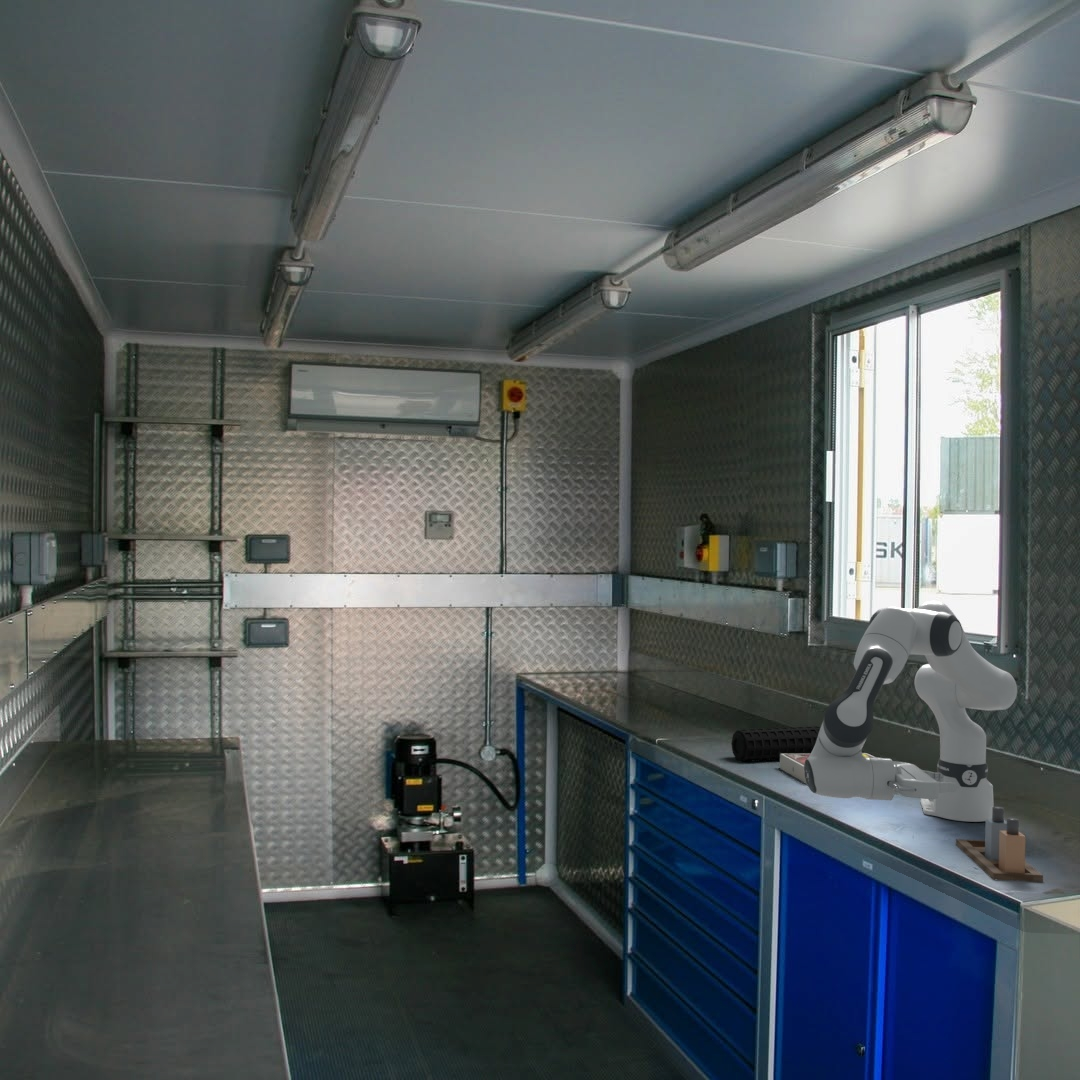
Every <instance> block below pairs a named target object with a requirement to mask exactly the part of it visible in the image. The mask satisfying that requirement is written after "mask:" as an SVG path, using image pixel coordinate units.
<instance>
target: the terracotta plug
mask: <svg viewBox="0 0 1080 1080" xmlns="http://www.w3.org/2000/svg"><path fill="white" fill-rule="evenodd" d="M1006 821H1007V827H1006V831H1001V830H1000V833H999V870H1000V871H1001V872H1010V873H1025V861H1026V835H1024V834H1023V833H1022V832H1020V819H1019V818H1015V817H1007V818H1006Z"/></svg>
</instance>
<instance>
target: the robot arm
mask: <svg viewBox="0 0 1080 1080" xmlns="http://www.w3.org/2000/svg"><path fill="white" fill-rule="evenodd" d="M910 655H911V656H912V655H917V656H924V657H925V659H926V660H927V663H926V664H923V665H921V666H920V667H919V669H918V670H917V672H916V673H915V677H914V689H915V691H916V693H917V695H918V697H919V698H920V699H921V700H922V701H924V703H926V705H927V706H928V707H929V709H930V710H931V711H932V713H933V715H934V717H935V720H936V722H937V725H938V729H939V731H938V732H939V743H940V744H939V751H940V752H939V755H940V757H939V758H938V761H937V765H936V766H937V767H936V768H937V769H936V771H937V772H936V771H935V772H933V771H930V770H923V769H921V768H919V767H918V766H917V765H916V764H913V763H911V762H910V763H909V762H904V761H895V760H892V759H891V758H887V757H880V756H879V757H878V756H874V758H868V757H864V756H863V755H862V753H863V752H862V751H863V750H862V749H863V747H864V745H865V744H866V743H865V742H866V741H867V738H869V735H870V734H871V732H872V730H873V728H874V705H875V702H876V700H877V697H878V696H879V693H880V691H881V689H882V687H883V685H888V684H890V683H891V684H892V683H893V682H894V681H895V679H896V678H897V677H898V676H899V675H900V673H901V672H902V671H903V669H904V667H905V665H906V663H907V661H908V659H909V657H910ZM853 667H854V669H855V672H854V674H853V677H852V679H851V680H850V682H849V684H848V686H847V688H846V689H845V692H843V693H842V694H841V695H840V696H838V697H837V698H835V699H834V700H832V701H831V703H829V705H828V706H827V707H826V709H825V711H824V716H823V720H822V723H821V725H820V727H821V728H820V731H819V734H818V737H817V741H816V743H815V746H814V748H813V750H812V752H811V754H810V756H809V757H808V758H807V759H806V760H805V764H804V772H805V773H804V774H805V779H806V783H807V784H806V783H805V784H806V785H807V788H808V789H809V790H810V792H812V793H814V794H815V795H818V796H823V797H826V798H837V799H851V798H861V799H865V800H873V801H892V800H893V799H894V797H895V795H896V796H899V795H900V796H901V797H903V798H912V799H920V804H921V808H923V809H922V812H923V814H925V815H927V816H935V817H939V818H943V819H947V820H951V821H957V822H968V823H969V822H971V823H972V822H974V823H977V822H986V819H992V807H994V786H993V784H992V783H991V782H990V781H989V780H988V779H987V777H988V771H989V767H988V763H987V761H986V760H987V734H986V732H985V730H984V729H983V728H982V727H981V726H980V725H979V724H978V723H976V722H975V721H973V720H972V719H971V718H970V716H969V715H968V713H967V710H966V709H973V710H978V711H979V710H980V711H1002V710H1004V711H1005V710H1008V709H1009V708H1010V707H1011V706H1012V705H1013V704H1014V702H1015V701H1016V698H1017V695H1018V686H1017V683H1016V680H1015V678H1014V677H1013V675H1012V674H1011V673H1010V672H1008V671H1006V670H1003V669H1002V668H999V667H997V666H996V665H994V664H992V663H991V662H989V661H988V660H987V659H985V658H984V657H983V656H981V655H980V654H979V653H978V652H977V651H976V650H975V649H974V648H973V646H972V644H971V642H970V641H969V638H968V636H967V635H966V633H965V630H964V628H963V626H962V623H961V622H960V620H959V619H958V617H957V616H956V615H955V613H954V612H953V610H951V608H950V607H949V606H948V605H946V604H945V603H943V602H941V601H937V600H931V601H926V602H924V603H921V604H920V605H918V607H917V608H905V607H904V608H903V607H898V606H888V607H884V608H880V609H877V610H876V611H875V612H874V613H873V614H872V615H871V617H870V618H869V621H868V627H867V628H866V630H865V631H864V634H863V635H862V637H861V639H860V641H859V643H858V646H857V649H856V651H855V655H854V660H853Z"/></svg>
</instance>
